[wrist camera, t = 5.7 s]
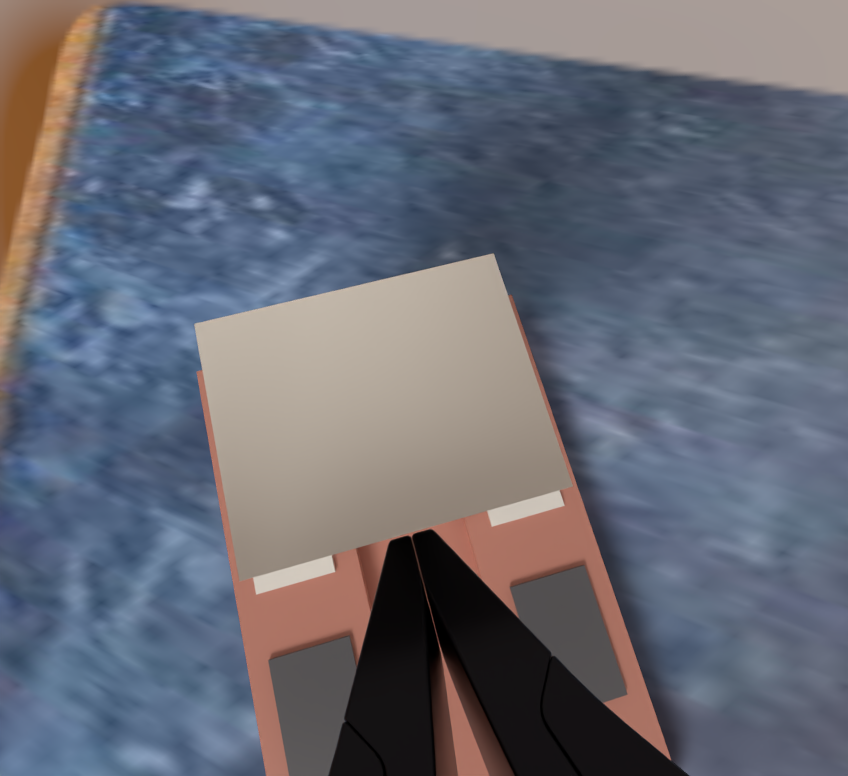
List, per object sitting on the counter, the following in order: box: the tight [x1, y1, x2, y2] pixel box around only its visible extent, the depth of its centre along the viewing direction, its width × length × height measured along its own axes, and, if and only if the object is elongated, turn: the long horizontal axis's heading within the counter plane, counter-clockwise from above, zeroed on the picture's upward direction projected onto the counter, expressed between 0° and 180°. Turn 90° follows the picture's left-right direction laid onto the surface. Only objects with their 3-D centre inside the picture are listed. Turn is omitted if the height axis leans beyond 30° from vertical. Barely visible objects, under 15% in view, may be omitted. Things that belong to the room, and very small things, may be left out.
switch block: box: [197, 295, 671, 776], centre depth 18 cm, size 18×12×2 cm, turn 15°
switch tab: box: [194, 253, 573, 581], centre depth 13 cm, size 4×5×11 cm
